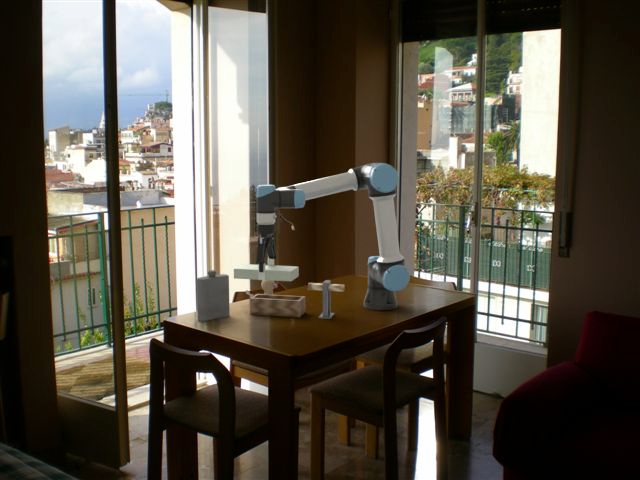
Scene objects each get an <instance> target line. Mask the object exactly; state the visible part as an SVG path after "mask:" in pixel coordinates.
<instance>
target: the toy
mask: <svg viewBox="0 0 640 480" xmlns="http://www.w3.org/2000/svg"><path fill="white" fill-rule="evenodd" d="M278 286H279V285H278V284H277V283H276V281H274V280H261V284H260V287H261V289H262V290H263V294H269V295H274V289H277V288H278ZM245 294H246V295H248V296H249V299H250V298H251V297H253V296H254V295H255V294H251V292H250V291H248V289H246V290H245Z"/></svg>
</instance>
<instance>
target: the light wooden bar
mask: <svg viewBox="0 0 640 480" xmlns="http://www.w3.org/2000/svg"><path fill="white" fill-rule="evenodd" d="M345 287H346V285H345V284H341V283H339V284H338V283H331V284H328V291H330V292H339V293H340V292H344V291H345ZM307 291H322V292H323V282H321V283H319V282H317V283H316V282H308V283H307Z"/></svg>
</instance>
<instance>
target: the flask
mask: <svg viewBox="0 0 640 480" xmlns="http://www.w3.org/2000/svg"><path fill="white" fill-rule="evenodd" d="M196 304H197V305H196V306H197V308H196V310H197V313H196V315H197V317H196V318H197V321H198V322H208V321H211V320H212V321H213V320H216V319H222V318H223V319H224V318H228V317H230V275H228V274H224V273H221V274H217V271H216V270H214V269H211V270H208V271H207V275H204V276H201V277H200V276H199V277H197V278H196Z"/></svg>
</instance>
